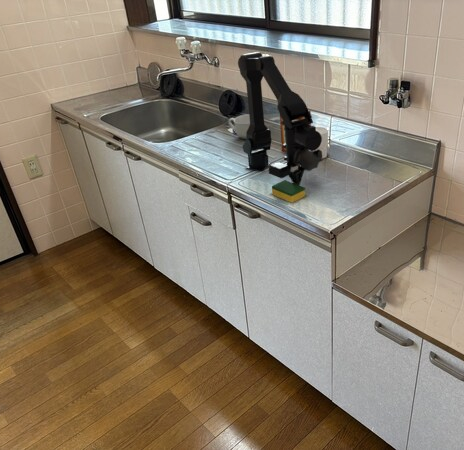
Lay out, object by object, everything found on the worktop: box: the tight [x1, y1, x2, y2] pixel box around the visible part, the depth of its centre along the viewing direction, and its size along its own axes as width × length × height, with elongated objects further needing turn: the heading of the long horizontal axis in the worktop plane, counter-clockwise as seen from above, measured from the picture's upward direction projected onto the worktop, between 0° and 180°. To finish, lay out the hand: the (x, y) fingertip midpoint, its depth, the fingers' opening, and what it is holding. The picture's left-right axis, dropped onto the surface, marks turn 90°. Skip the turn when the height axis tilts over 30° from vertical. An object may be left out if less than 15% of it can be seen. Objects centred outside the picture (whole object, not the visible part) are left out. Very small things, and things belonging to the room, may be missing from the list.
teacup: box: [227, 113, 250, 140], centre depth 198 cm, size 14×11×8 cm
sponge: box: [271, 179, 306, 204], centre depth 150 cm, size 9×6×3 cm, turn 44°
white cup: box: [315, 126, 329, 160], centre depth 175 cm, size 8×8×10 cm
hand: (297, 187), depth 152 cm, fingers closed
